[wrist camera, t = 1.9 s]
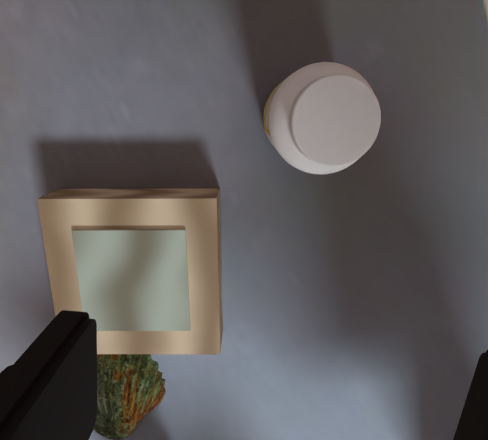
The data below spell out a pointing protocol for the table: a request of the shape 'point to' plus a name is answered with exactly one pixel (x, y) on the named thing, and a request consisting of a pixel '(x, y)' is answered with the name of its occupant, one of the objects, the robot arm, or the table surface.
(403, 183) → the table surface
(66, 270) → the plinth
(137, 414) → the seashell
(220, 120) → the table surface
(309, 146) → the supplement bottle
